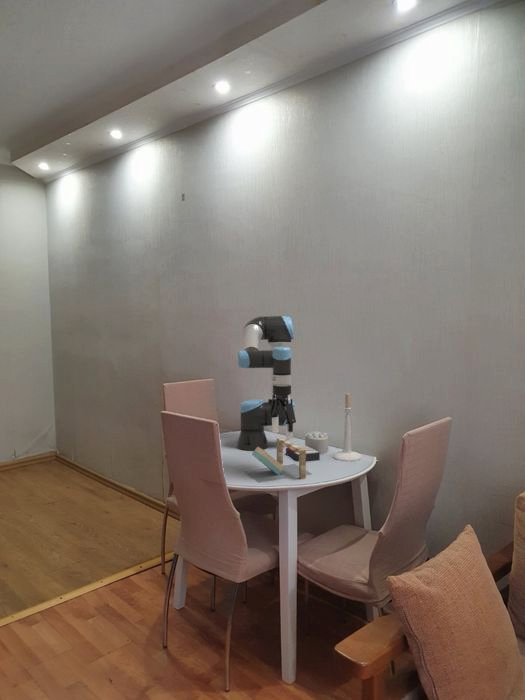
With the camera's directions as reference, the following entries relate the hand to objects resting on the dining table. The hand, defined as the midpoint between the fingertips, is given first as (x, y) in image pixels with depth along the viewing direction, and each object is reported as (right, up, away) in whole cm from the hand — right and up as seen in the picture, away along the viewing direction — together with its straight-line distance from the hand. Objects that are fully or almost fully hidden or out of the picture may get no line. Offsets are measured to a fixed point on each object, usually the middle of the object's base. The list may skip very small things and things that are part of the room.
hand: (282, 435), depth 217 cm
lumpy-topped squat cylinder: (+18, -13, +35) cm, 42 cm away
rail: (+4, -15, +3) cm, 16 cm away
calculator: (+10, -14, +25) cm, 31 cm away
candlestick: (+31, -14, +23) cm, 41 cm away
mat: (-2, -16, 0) cm, 16 cm away
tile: (-5, -8, -1) cm, 10 cm away
